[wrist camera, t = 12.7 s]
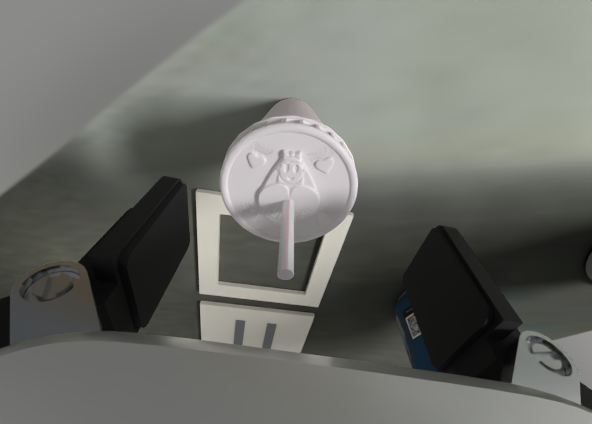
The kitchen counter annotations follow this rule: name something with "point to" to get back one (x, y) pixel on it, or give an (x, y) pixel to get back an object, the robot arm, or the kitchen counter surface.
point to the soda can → (412, 335)
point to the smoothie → (288, 179)
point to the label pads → (256, 289)
